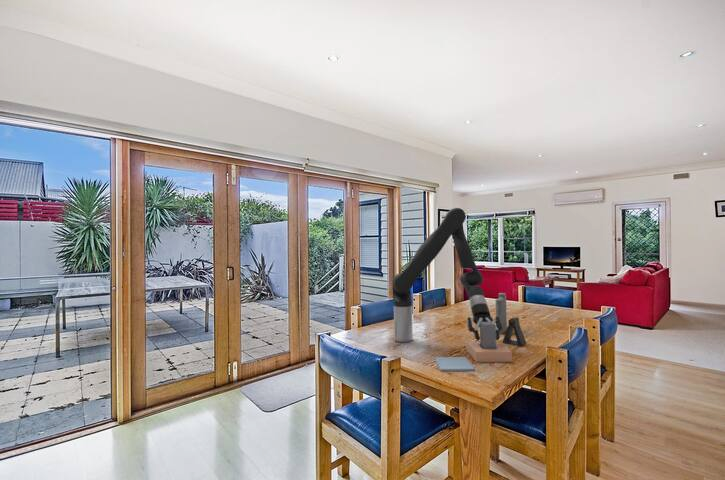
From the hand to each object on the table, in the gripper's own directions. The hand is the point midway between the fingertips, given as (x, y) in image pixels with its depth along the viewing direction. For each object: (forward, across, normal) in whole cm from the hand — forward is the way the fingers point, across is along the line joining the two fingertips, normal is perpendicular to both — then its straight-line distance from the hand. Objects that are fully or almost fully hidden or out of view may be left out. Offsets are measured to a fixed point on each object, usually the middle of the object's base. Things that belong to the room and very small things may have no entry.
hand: (488, 339), depth 147 cm
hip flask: (-23, +21, +34) cm, 46 cm away
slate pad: (+12, -17, -2) cm, 21 cm away
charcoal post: (+5, 0, +5) cm, 7 cm away
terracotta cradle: (+5, 0, +5) cm, 7 cm away
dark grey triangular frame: (-7, +18, +17) cm, 26 cm away
